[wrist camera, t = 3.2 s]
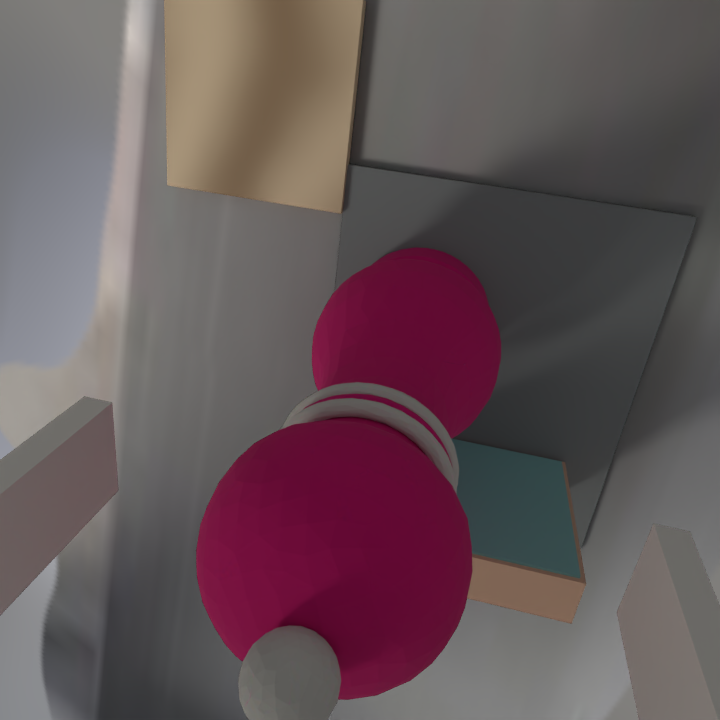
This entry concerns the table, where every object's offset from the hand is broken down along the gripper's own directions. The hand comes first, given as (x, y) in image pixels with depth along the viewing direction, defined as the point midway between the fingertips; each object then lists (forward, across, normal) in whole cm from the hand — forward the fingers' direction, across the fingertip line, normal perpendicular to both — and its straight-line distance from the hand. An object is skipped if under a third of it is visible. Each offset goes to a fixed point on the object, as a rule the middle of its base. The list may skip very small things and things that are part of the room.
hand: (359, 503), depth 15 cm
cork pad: (+15, -8, +8) cm, 18 cm away
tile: (+14, +4, -7) cm, 17 cm away
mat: (+15, +3, -3) cm, 15 cm away
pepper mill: (+14, 0, 0) cm, 15 cm away
